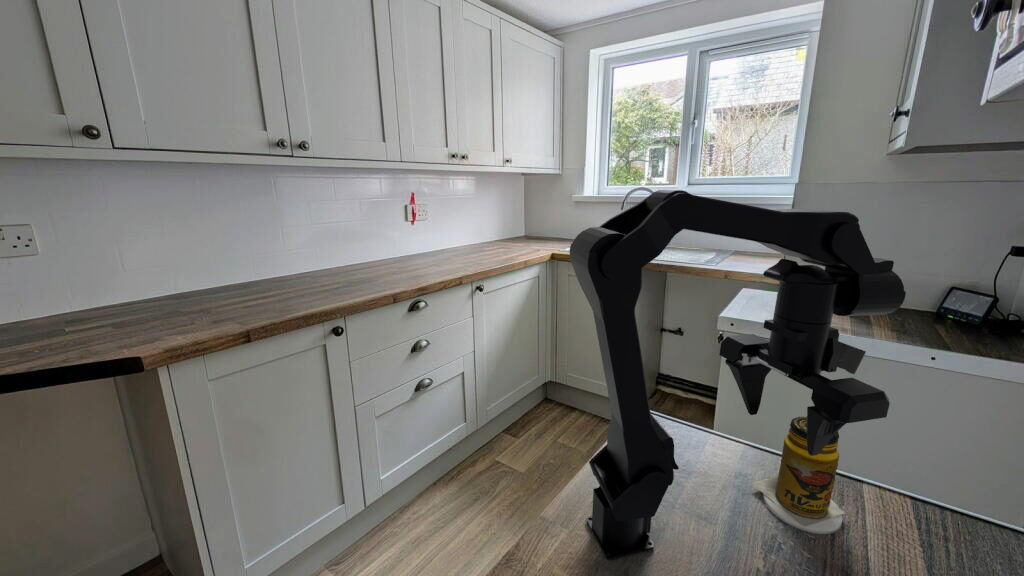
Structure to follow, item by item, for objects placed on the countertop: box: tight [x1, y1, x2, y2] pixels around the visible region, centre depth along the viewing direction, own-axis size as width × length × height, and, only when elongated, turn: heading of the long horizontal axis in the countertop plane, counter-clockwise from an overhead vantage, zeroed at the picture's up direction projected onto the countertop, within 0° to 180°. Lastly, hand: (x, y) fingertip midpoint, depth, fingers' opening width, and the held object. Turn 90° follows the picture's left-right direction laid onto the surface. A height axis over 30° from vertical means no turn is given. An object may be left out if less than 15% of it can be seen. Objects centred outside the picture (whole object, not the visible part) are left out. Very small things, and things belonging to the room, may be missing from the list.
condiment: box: [750, 416, 846, 526], centre depth 58 cm, size 7×8×12 cm
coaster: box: [762, 493, 843, 535], centre depth 59 cm, size 9×9×1 cm
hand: (780, 432), depth 54 cm, fingers open, 9 cm apart
